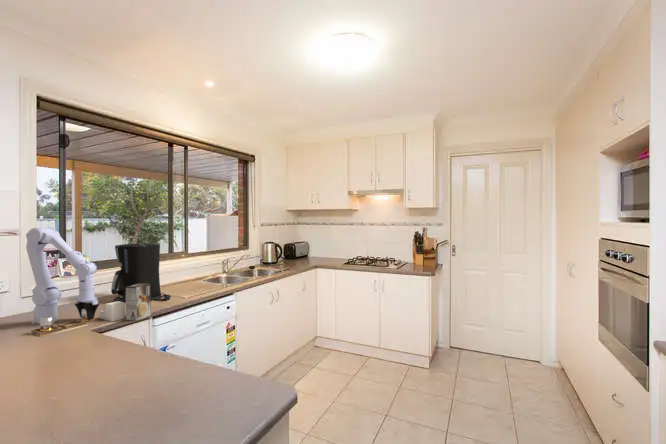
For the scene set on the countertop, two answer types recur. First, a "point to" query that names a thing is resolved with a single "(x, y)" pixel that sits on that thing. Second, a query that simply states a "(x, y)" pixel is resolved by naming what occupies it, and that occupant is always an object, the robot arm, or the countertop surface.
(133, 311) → the coffee box
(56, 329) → the seat board
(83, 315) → the sleeve
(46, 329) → the sleeve
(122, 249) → the coffee maker
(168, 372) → the countertop surface
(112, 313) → the feeder
